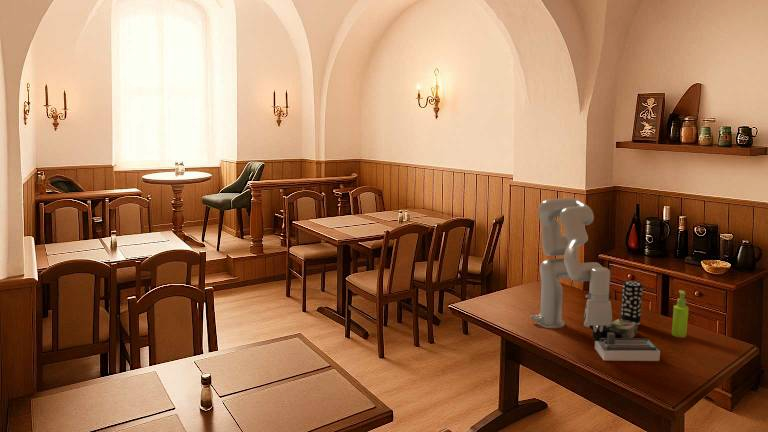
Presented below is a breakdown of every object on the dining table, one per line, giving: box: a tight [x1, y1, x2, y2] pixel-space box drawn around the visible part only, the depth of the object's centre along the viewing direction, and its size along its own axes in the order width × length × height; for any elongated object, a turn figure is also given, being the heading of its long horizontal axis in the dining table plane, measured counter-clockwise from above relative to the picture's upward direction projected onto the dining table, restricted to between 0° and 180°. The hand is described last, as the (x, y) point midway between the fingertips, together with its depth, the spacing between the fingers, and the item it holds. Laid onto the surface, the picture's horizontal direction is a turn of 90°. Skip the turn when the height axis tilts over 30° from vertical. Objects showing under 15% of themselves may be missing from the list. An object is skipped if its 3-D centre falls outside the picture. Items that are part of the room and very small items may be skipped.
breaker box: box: [594, 337, 661, 362], centre depth 238 cm, size 22×12×5 cm, turn 87°
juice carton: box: [601, 318, 639, 338], centre depth 256 cm, size 20×10×6 cm, turn 137°
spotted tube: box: [620, 280, 644, 328], centre depth 270 cm, size 8×8×20 cm
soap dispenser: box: [671, 289, 690, 338], centre depth 257 cm, size 6×7×20 cm
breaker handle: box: [606, 332, 616, 344], centre depth 238 cm, size 2×2×5 cm
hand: (596, 339), depth 238 cm, fingers closed
